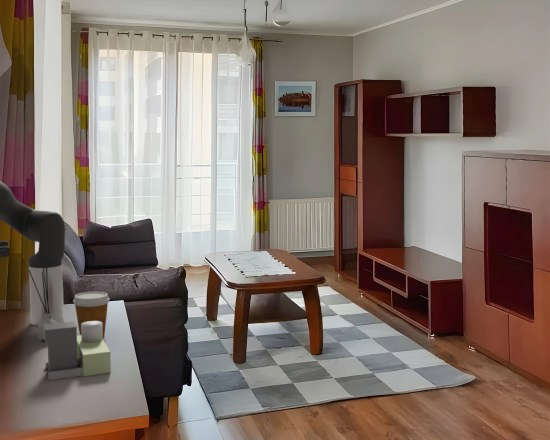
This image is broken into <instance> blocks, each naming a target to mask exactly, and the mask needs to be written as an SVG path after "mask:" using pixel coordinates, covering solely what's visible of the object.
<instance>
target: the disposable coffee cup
mask: <svg viewBox="0 0 550 440" xmlns="http://www.w3.org/2000/svg"><path fill="white" fill-rule="evenodd" d="M109 301H110V297H109V295H108V293H107V292H104V291H86V292H80V293H77V294H75V295H74V298H73V300H72V302H73V304H74V306H75V312H76V313H75V314H76V319H77V325H78V332H79V335H81V324H82V323H84V322H88V321H100V322H102V327H103V339H104V338H105V333H106V332H105V331H106V325H107V323H106V322H107V314H108V313H107V312H108V307H109V306H108V304H109Z"/></svg>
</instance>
